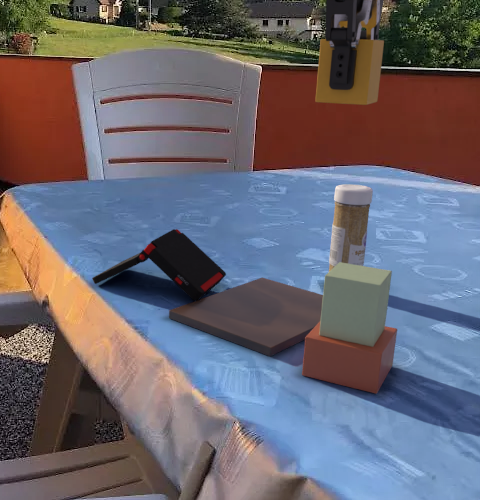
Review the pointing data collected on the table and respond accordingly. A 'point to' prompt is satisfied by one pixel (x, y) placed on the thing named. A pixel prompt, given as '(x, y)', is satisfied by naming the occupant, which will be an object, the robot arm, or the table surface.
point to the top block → (363, 79)
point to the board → (255, 315)
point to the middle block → (355, 303)
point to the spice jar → (350, 224)
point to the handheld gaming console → (175, 264)
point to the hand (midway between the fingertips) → (348, 87)
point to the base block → (349, 360)
